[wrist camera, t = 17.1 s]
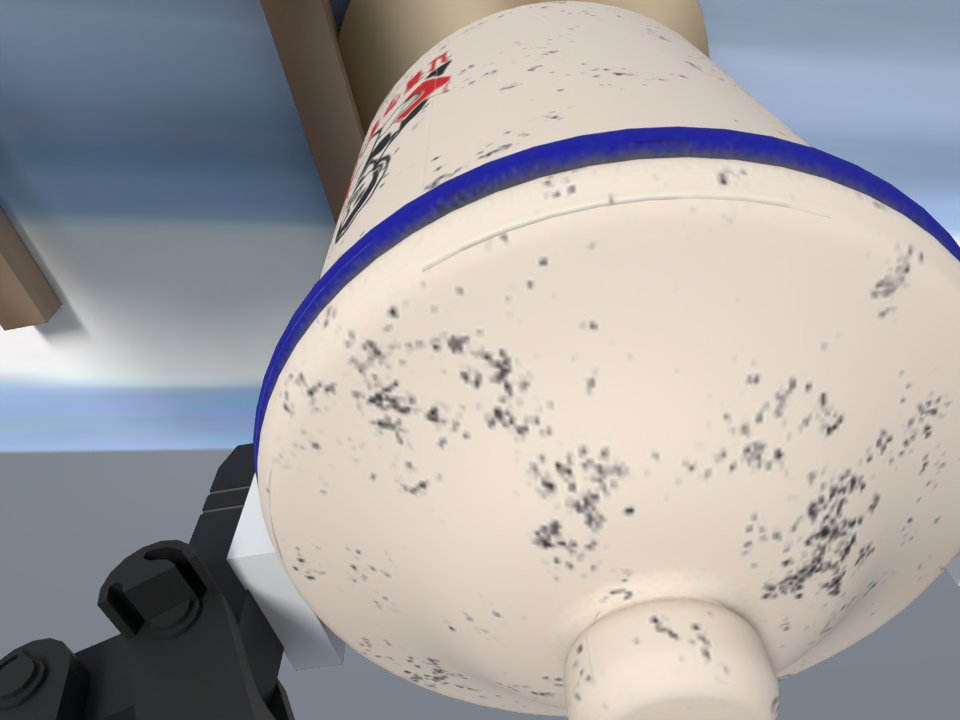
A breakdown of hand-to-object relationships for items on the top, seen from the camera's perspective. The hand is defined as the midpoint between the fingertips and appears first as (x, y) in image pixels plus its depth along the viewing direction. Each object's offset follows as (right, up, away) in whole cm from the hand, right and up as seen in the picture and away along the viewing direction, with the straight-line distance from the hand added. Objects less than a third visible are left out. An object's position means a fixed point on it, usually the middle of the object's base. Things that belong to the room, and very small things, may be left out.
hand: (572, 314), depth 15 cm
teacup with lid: (-1, +1, +2) cm, 2 cm away
